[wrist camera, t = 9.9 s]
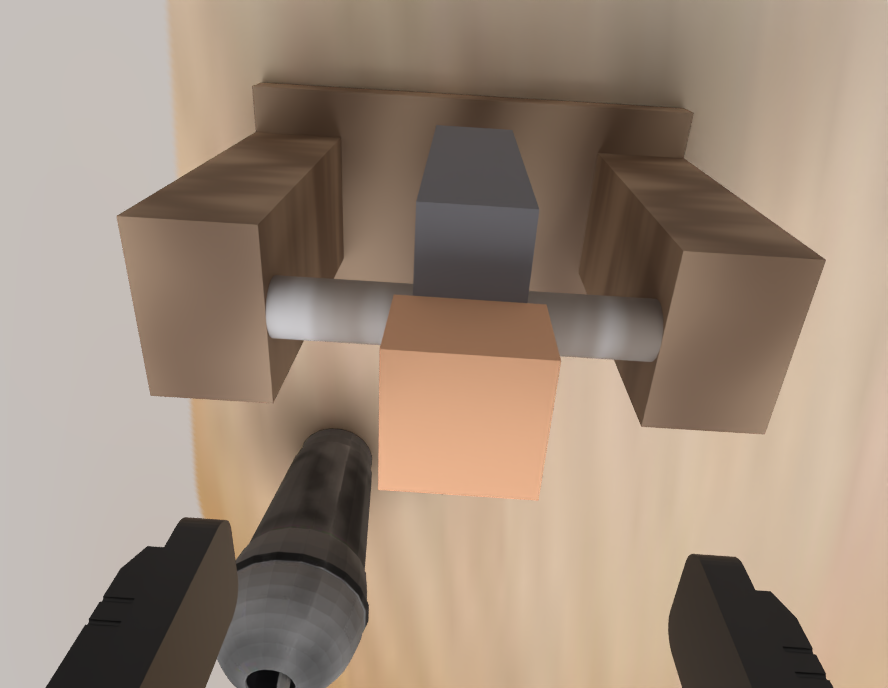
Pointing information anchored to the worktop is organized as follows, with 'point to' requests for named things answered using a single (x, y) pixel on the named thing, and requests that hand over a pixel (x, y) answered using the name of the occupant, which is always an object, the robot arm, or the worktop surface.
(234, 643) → the beverage cup
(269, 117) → the hook stand
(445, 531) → the worktop surface
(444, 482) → the peach and grey blocks
